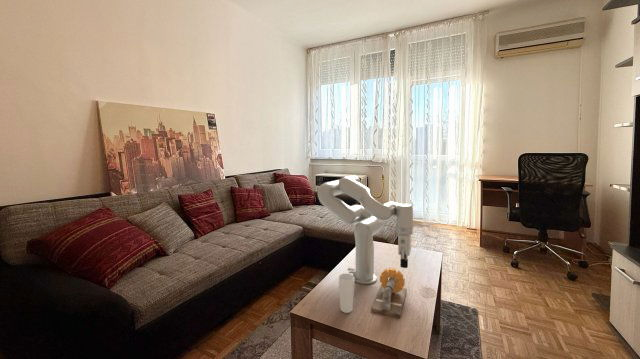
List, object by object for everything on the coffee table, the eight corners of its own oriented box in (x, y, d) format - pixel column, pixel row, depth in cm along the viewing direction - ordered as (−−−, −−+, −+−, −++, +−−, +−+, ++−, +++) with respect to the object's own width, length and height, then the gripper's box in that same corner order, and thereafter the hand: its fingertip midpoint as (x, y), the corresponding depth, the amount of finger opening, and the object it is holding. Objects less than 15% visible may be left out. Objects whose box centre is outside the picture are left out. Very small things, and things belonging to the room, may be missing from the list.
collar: (379, 290, 132) (380, 268, 130) (380, 288, 133) (381, 266, 132) (403, 295, 127) (404, 272, 126) (404, 292, 129) (405, 270, 127)
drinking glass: (344, 303, 124) (344, 271, 122) (357, 309, 120) (357, 276, 118) (335, 310, 119) (335, 277, 117) (348, 316, 115) (348, 282, 113)
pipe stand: (371, 311, 118) (371, 291, 117) (381, 286, 138) (381, 269, 137) (400, 318, 114) (400, 297, 112) (406, 291, 134) (407, 273, 132)
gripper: (410, 235, 123) (410, 275, 125) (414, 226, 136) (413, 262, 139) (393, 233, 126) (393, 272, 128) (398, 225, 139) (398, 260, 142)
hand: (404, 266), depth 133 cm, fingers closed
